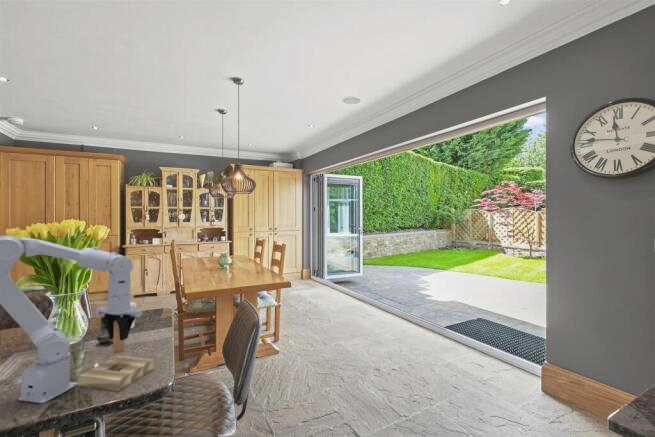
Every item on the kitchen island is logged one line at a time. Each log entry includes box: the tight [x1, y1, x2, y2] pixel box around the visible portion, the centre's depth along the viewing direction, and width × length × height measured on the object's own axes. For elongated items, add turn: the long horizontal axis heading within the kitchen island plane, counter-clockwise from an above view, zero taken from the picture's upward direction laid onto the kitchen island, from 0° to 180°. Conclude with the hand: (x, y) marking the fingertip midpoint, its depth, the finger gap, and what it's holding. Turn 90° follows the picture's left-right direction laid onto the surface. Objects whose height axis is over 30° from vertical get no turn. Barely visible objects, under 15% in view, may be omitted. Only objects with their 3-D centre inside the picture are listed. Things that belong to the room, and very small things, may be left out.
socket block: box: [78, 355, 154, 392], centre depth 93 cm, size 13×13×3 cm
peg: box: [112, 320, 126, 354], centre depth 96 cm, size 3×3×10 cm
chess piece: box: [95, 314, 113, 348], centre depth 117 cm, size 6×6×12 cm
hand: (118, 338), depth 95 cm, fingers closed on peg, 3 cm apart
